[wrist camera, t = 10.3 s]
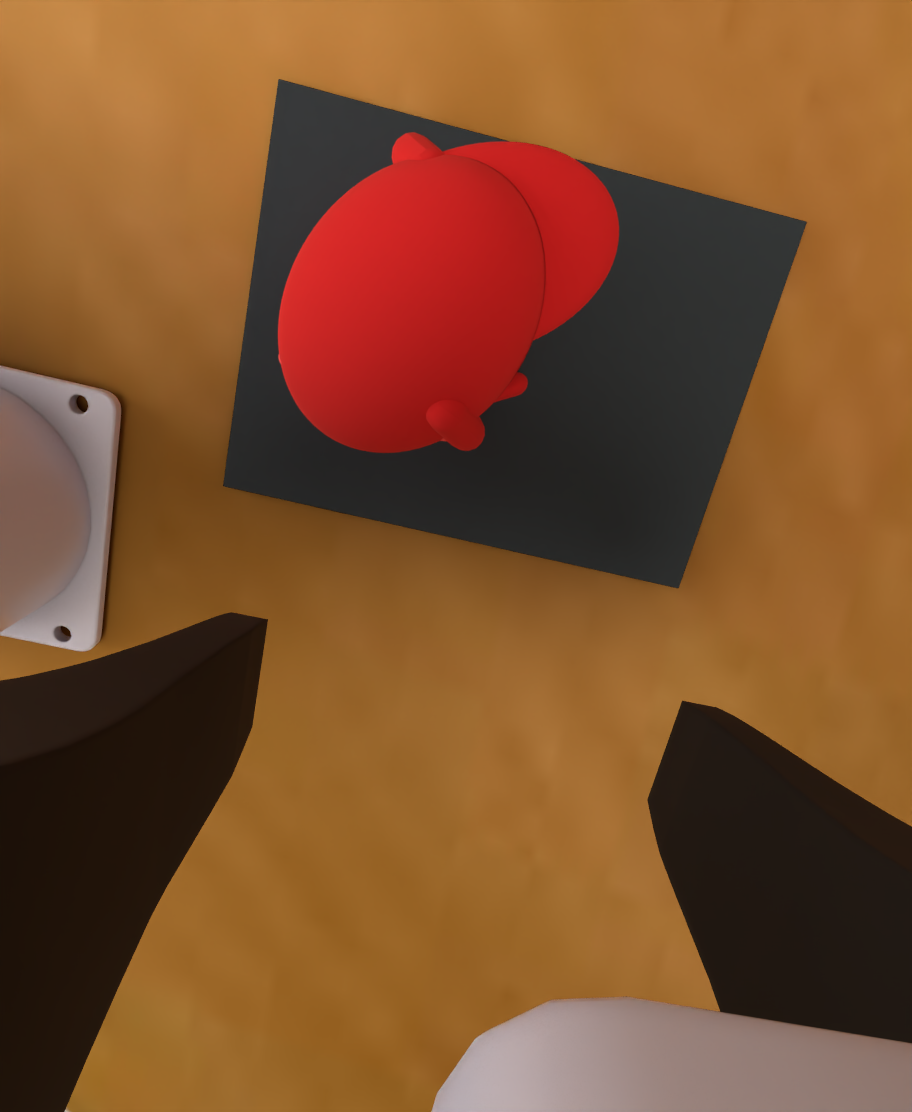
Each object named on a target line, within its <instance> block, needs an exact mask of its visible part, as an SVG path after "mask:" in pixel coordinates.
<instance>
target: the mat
mask: <svg viewBox="0 0 912 1112" xmlns="http://www.w3.org/2000/svg"><path fill="white" fill-rule="evenodd" d="M411 132H415V133H417V134H420V135H423V136H425V137H426V138H427V139H429V140H430V141H431V142H432V143H433V144H435V145H436V146H437V147H438V148H439V149H441V151H442V152H443V151H446V150H449V149H453V148H456V147H460V146H465V145H470V144H476V143H484V142H502V141H503V142H509V141H506V140H502V139H498V138H495V137H491V136H487V135H483V134H480V133H476V132H472V131H469V130H465V129H461V128H458V127H454V126H450V125H446V124H443V123H439V122H435V121H432V120H428V119H424V118H421V117H417V116H413V115H410V114H406V113H402V112H398V111H395V110H391V109H387V108H384V107H380V106H376V105H373V104H369V103H365V102H361V101H358V100H354V99H350V98H347V97H343V96H339V95H336V94H332V93H328V92H325V91H321V90H317V89H313V88H310V87H306V86H302V85H299V84H295V83H291V82H288V81H284V80H280V79H279V80H278V88H277V95H276V102H275V110H274V117H273V124H272V132H271V139H270V146H269V154H268V161H267V168H266V176H265V183H264V190H263V198H262V205H261V212H260V220H259V227H258V234H257V242H256V249H255V256H254V264H253V271H252V278H251V286H250V293H249V300H248V308H247V315H246V322H245V330H244V337H243V344H242V352H241V359H240V366H239V374H238V381H237V388H236V396H235V403H234V410H233V418H232V425H231V432H230V440H229V447H228V454H227V462H226V469H225V476H224V484H223V486H225V487H230V488H234V489H238V490H243V491H247V492H252V493H256V494H261V495H265V496H270V497H274V498H279V499H283V500H287V501H292V502H296V503H301V504H305V505H310V506H314V507H319V508H323V509H328V510H332V511H336V512H341V513H345V514H350V515H354V516H359V517H363V518H368V519H372V520H377V521H381V522H385V523H390V524H394V525H399V526H403V527H408V528H412V529H417V530H421V531H425V532H430V533H434V534H439V535H443V536H448V537H452V538H457V539H461V540H466V541H470V542H474V543H479V544H483V545H488V546H492V547H497V548H501V549H506V550H510V551H515V552H519V553H523V554H528V555H532V556H537V557H541V558H546V559H550V560H555V561H559V562H563V563H568V564H572V565H577V566H581V567H586V568H590V569H595V570H599V571H604V572H608V573H612V574H617V575H621V576H626V577H630V578H635V579H639V580H644V581H648V582H653V583H657V584H661V585H666V586H670V587H675V588H679V585H680V582H681V579H682V577H683V574H684V571H685V568H686V565H687V562H688V559H689V557H690V554H691V551H692V548H693V545H694V542H695V539H696V537H697V534H698V531H699V528H700V525H701V522H702V520H703V517H704V514H705V511H706V508H707V505H708V502H709V500H710V497H711V494H712V491H713V488H714V485H715V482H716V480H717V477H718V474H719V471H720V468H721V465H722V463H723V460H724V457H725V454H726V451H727V448H728V445H729V443H730V440H731V437H732V434H733V431H734V428H735V425H736V423H737V420H738V417H739V414H740V411H741V408H742V405H743V403H744V400H745V397H746V394H747V391H748V388H749V386H750V383H751V380H752V377H753V374H754V371H755V368H756V366H757V363H758V360H759V357H760V354H761V351H762V348H763V346H764V343H765V340H766V337H767V334H768V331H769V329H770V326H771V323H772V320H773V317H774V314H775V311H776V309H777V306H778V303H779V300H780V297H781V294H782V291H783V289H784V286H785V283H786V280H787V277H788V274H789V272H790V269H791V266H792V263H793V260H794V257H795V254H796V252H797V249H798V246H799V243H800V240H801V237H802V234H803V232H804V229H805V226H806V223H807V222H805V221H801V220H798V219H794V218H790V217H787V216H783V215H779V214H775V213H772V212H768V211H764V210H761V209H757V208H753V207H750V206H746V205H742V204H739V203H735V202H731V201H727V200H724V199H720V198H716V197H713V196H709V195H705V194H702V193H698V192H694V191H690V190H687V189H683V188H679V187H676V186H672V185H668V184H665V183H661V182H657V181H654V180H650V179H646V178H642V177H639V176H635V175H631V174H628V173H624V172H620V171H617V170H613V169H609V168H605V167H602V166H598V165H594V164H591V163H587V162H583V161H580V160H577V161H578V162H580V163H581V164H583V165H584V166H586V167H587V168H588V169H589V170H590V171H592V172H593V173H594V174H595V175H596V176H597V177H598V178H599V180H600V181H601V182H602V183H603V185H604V186H605V187H606V189H607V190H608V192H609V194H610V196H611V198H612V200H613V202H614V205H615V208H616V211H617V216H618V221H619V241H618V247H617V252H616V256H615V259H614V262H613V264H612V267H611V269H610V271H609V273H608V275H607V277H606V279H605V280H604V282H603V283H602V285H601V287H600V288H599V289H598V291H597V292H596V293H595V295H594V296H593V297H592V298H591V299H590V300H589V302H588V303H587V304H586V305H585V306H584V307H583V308H582V309H581V310H579V311H578V312H577V313H576V314H575V315H574V316H573V317H571V318H570V319H569V320H567V321H566V322H565V323H563V324H562V325H560V326H559V327H557V328H556V329H554V330H552V331H551V332H549V333H547V334H545V335H543V336H542V337H540V338H538V339H535V340H533V342H532V344H531V346H530V349H529V351H528V353H527V355H526V357H525V359H524V361H523V363H522V365H521V366H520V368H519V370H518V372H519V373H522V374H524V375H525V376H526V377H527V380H528V385H527V388H526V390H525V391H524V392H523V393H522V394H520V395H518V396H515V397H511V398H507V399H504V400H501V401H498V402H494V403H493V404H492V405H491V406H490V407H489V408H488V409H487V410H486V411H485V412H484V413H482V414H481V415H480V416H479V417H480V418H481V420H482V423H483V425H484V427H485V436H484V439H483V441H482V443H481V444H480V445H479V446H478V447H477V448H475V449H473V450H470V451H463V450H459V449H457V448H455V447H454V446H452V445H451V444H449V443H448V442H447V441H438V442H436V443H433V444H431V445H428V446H425V447H422V448H418V449H414V450H410V451H403V452H395V453H376V452H367V451H362V450H358V449H354V448H351V447H348V446H346V445H343V444H341V443H339V442H337V441H335V440H333V439H331V438H330V437H328V436H326V435H325V434H324V433H322V432H321V431H320V430H318V429H317V428H316V427H315V426H314V425H313V424H312V423H311V422H310V421H309V420H308V419H307V418H306V417H305V415H304V414H303V413H302V412H301V410H300V409H299V407H298V406H297V404H296V403H295V401H294V399H293V397H292V395H291V393H290V391H289V389H288V386H287V384H286V381H285V378H284V375H283V371H282V367H281V364H280V362H279V358H278V355H279V347H278V321H279V313H280V306H281V301H282V297H283V292H284V289H285V285H286V282H287V279H288V276H289V273H290V271H291V268H292V266H293V264H294V261H295V259H296V257H297V255H298V253H299V251H300V249H301V247H302V246H303V244H304V242H305V241H306V239H307V237H308V236H309V234H310V233H311V231H312V230H313V228H314V227H315V225H316V224H317V223H318V222H319V220H320V219H321V218H322V216H323V215H324V214H325V213H326V212H327V211H328V210H329V209H330V207H331V206H332V205H333V204H334V203H335V202H336V201H337V200H338V199H339V198H341V197H342V196H343V195H344V194H345V193H346V192H348V191H349V190H350V189H351V188H352V187H354V186H355V185H357V184H358V183H359V182H361V181H362V180H364V179H365V178H367V177H369V176H370V175H372V174H373V173H375V172H377V171H379V170H381V169H383V168H385V167H388V166H390V165H392V164H393V161H392V149H393V146H394V144H395V142H396V141H397V139H398V138H400V137H401V136H403V135H404V134H405V133H411ZM575 160H576V159H575Z"/></svg>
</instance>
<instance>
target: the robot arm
mask: <svg viewBox="0 0 912 1112" xmlns="http://www.w3.org/2000/svg"><path fill="white" fill-rule="evenodd" d="M79 395H81V396H83V397H85V399H86V400H87V401H88V409H87V411H86V412H83V411H81V410H80V409H79V408H78V406H77V402H76V400H77V398H78V396H79ZM120 421H121V404H120V402H119V401H118V399H117V397H116V396H115V395H114V394H113V393H111V392H109V391H107V390H104V389H100V388H96V387H91V386H87V385H83V384H78V383H74V382H70V381H65V380H61V379H57V378H52V377H48V376H44V375H40V374H35V373H31V372H27V371H22V370H18V369H14V368H9V367H5V366H1V365H0V635H1V636H6V637H11V638H16V639H21V640H26V641H31V642H36V643H40V644H45V645H50V646H55V647H60V648H65V649H70V650H75V651H88V650H91V649H92V648H93V647H94V646H96V645H97V644H98V643H99V642H100V639H101V635H102V624H103V613H104V601H105V590H106V579H107V568H108V556H109V545H110V534H111V523H112V511H113V500H114V489H115V478H116V466H117V455H118V444H119V433H120ZM267 622H268V619H263V618H258V617H252V616H247V615H242V614H237V613H232V612H231V613H226V614H223V615H219V616H216V617H214V618H211V619H208V620H205V621H203V622H200V623H198V624H195V625H192V626H190V627H187V628H185V629H182V630H179V631H177V632H174V633H171V634H169V635H166V636H164V637H161V638H158V639H156V640H153V641H150V642H147V643H144V644H141V645H138V646H135V647H132V648H129V649H126V650H123V651H120V652H117V653H114V654H111V655H108V656H105V657H102V658H98V659H95V660H92V661H88V662H85V663H81V664H77V665H73V666H69V667H65V668H61V669H57V670H52V671H48V672H43V673H39V674H35V675H30V676H25V677H20V678H15V679H9V680H2V681H0V1112H64V1111H65V1109H66V1106H67V1104H68V1102H69V1099H70V1097H71V1095H72V1092H73V1090H74V1088H75V1085H76V1083H77V1081H78V1078H79V1076H80V1074H81V1071H82V1069H83V1066H84V1064H85V1062H86V1059H87V1057H88V1055H89V1053H90V1050H91V1048H92V1046H93V1044H94V1041H95V1039H96V1037H97V1035H98V1032H99V1030H100V1028H101V1025H102V1023H103V1021H104V1019H105V1016H106V1014H107V1012H108V1010H109V1007H110V1005H111V1003H112V1001H113V998H114V996H115V994H116V992H117V989H118V987H119V985H120V982H121V980H122V978H123V976H124V974H125V972H126V969H127V967H128V965H129V963H130V961H131V959H132V956H133V954H134V952H135V950H136V948H137V945H138V943H139V941H140V939H141V937H142V935H143V932H144V930H145V928H146V926H147V924H148V922H149V919H150V917H151V915H152V913H153V912H154V910H155V908H156V906H157V904H158V902H159V900H160V898H161V897H162V895H163V893H164V891H165V889H166V887H167V886H168V884H169V882H170V881H171V879H172V877H173V875H174V874H175V872H176V870H177V869H178V867H179V865H180V864H181V862H182V860H183V858H184V857H185V855H186V853H187V852H188V850H189V848H190V847H191V845H192V843H193V842H194V840H195V838H196V836H197V835H198V833H199V831H200V830H201V828H202V826H203V825H204V823H205V821H206V820H207V818H208V816H209V814H210V813H211V811H212V809H213V808H214V806H215V804H216V802H217V801H218V799H219V797H220V795H221V794H222V792H223V790H224V789H225V787H226V785H227V783H228V782H229V780H230V778H231V776H232V774H233V772H234V769H235V767H236V765H237V762H238V760H239V758H240V755H241V753H242V751H243V748H244V746H245V743H246V741H247V738H248V736H249V733H250V731H251V728H252V725H253V718H254V711H255V704H256V697H257V690H258V684H259V677H260V670H261V663H262V656H263V649H264V643H265V636H266V629H267ZM61 626H64V627H66V628H68V629H69V630H70V632H71V636H70V637H69V636H67V635H64V633H63V632H62V631H61ZM648 805H649V809H650V814H651V819H652V824H653V828H654V832H655V836H656V840H657V844H658V848H659V852H660V855H661V858H662V861H663V863H664V866H665V869H666V871H667V874H668V876H669V879H670V882H671V884H672V887H673V889H674V892H675V895H676V897H677V900H678V902H679V905H680V907H681V910H682V912H683V915H684V917H685V920H686V922H687V925H688V927H689V930H690V932H691V935H692V937H693V940H694V942H695V945H696V947H697V950H698V953H699V955H700V958H701V960H702V963H703V965H704V968H705V970H706V973H707V975H708V978H709V980H710V983H711V986H712V989H713V992H714V995H715V997H716V1000H717V1003H718V1006H719V1009H720V1012H717V1011H711V1010H705V1009H699V1008H693V1007H687V1006H681V1005H675V1004H669V1003H663V1002H657V1001H650V1000H644V999H638V998H632V997H605V998H581V999H557V1000H549V1001H547V1002H545V1003H543V1004H541V1005H539V1006H537V1007H535V1008H533V1009H531V1010H529V1011H527V1012H525V1013H523V1014H520V1015H518V1016H516V1017H514V1018H512V1019H510V1020H508V1021H506V1022H504V1023H502V1024H500V1025H498V1026H496V1027H494V1028H492V1029H489V1030H487V1031H486V1032H484V1033H483V1034H481V1035H480V1036H478V1037H477V1038H475V1040H474V1041H473V1043H472V1044H471V1046H470V1047H469V1048H468V1050H467V1051H466V1053H465V1054H464V1056H463V1057H462V1058H461V1060H460V1061H459V1063H458V1064H457V1066H456V1067H455V1068H454V1070H453V1071H452V1073H451V1074H450V1076H449V1077H448V1078H447V1080H446V1081H445V1083H444V1084H443V1086H442V1087H441V1088H440V1090H439V1091H438V1093H437V1095H436V1099H435V1102H434V1106H433V1109H432V1112H912V827H911V826H909V825H908V824H906V823H904V822H902V821H901V820H899V819H897V818H895V817H894V816H892V815H890V814H888V813H887V812H885V811H883V810H882V809H880V808H878V807H877V806H875V805H873V804H872V803H870V802H868V801H867V800H865V799H863V798H862V797H860V796H859V795H857V794H855V793H854V792H852V791H850V790H849V789H847V788H845V787H844V786H842V785H841V784H839V783H838V782H836V781H834V780H833V779H831V778H830V777H828V776H827V775H825V774H824V773H822V772H820V771H819V770H817V769H816V768H814V767H813V766H811V765H810V764H808V763H807V762H805V761H804V760H802V759H801V758H799V757H798V756H796V755H795V754H793V753H792V752H790V751H788V750H787V749H785V748H784V747H782V746H781V745H779V744H778V743H776V742H775V741H773V740H772V739H770V738H769V737H767V736H766V735H764V734H763V733H761V732H759V731H758V730H756V729H755V728H753V727H751V726H750V725H748V724H747V723H745V722H743V721H742V720H740V719H738V718H736V717H735V716H733V715H731V714H729V713H727V712H725V711H723V710H721V709H719V708H716V707H711V706H706V705H701V704H696V703H691V702H686V701H682V703H681V706H680V709H679V712H678V715H677V717H676V720H675V723H674V726H673V729H672V732H671V734H670V737H669V740H668V743H667V746H666V749H665V751H664V754H663V757H662V760H661V763H660V766H659V769H658V771H657V774H656V777H655V780H654V783H653V786H652V788H651V791H650V794H649V797H648Z"/></svg>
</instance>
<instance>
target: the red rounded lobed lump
mask: <svg viewBox="0 0 912 1112" xmlns="http://www.w3.org/2000/svg"><path fill="white" fill-rule="evenodd" d="M392 161H393V164H392V165H390V166H388V167H385V168H383V169H381V170H379V171H377V172H375V173H373V174H372V175H370V176H369V177H367V178H365V179H364V180H362V181H361V182H359V183H358V184H357V185H355V186H354V187H352V188H351V189H350V190H349V191H348V192H346V193H345V194H344V195H343V196H342V197H341V198H339V199H338V200H337V201H336V202H335V203H334V204H333V205H332V206H331V207H330V209H329V210H328V211H327V212H326V213H325V214H324V215H323V216H322V218H321V219H320V220H319V222H318V223H317V224H316V225H315V227H314V228H313V230H312V231H311V233H310V234H309V236H308V237H307V239H306V241H305V242H304V244H303V246H302V247H301V249H300V251H299V253H298V255H297V257H296V259H295V261H294V264H293V266H292V268H291V271H290V273H289V276H288V279H287V282H286V285H285V289H284V292H283V297H282V301H281V306H280V313H279V321H278V347H279V355H278V358H279V362H280V364H281V367H282V371H283V375H284V378H285V381H286V384H287V386H288V389H289V391H290V393H291V395H292V397H293V399H294V401H295V403H296V404H297V406H298V407H299V409H300V410H301V412H302V413H303V414H304V415H305V417H306V418H307V419H308V420H309V421H310V422H311V423H312V424H313V425H314V426H315V427H316V428H317V429H318V430H320V431H321V432H322V433H324V434H325V435H326V436H328V437H330V438H331V439H333V440H335V441H337V442H339V443H341V444H343V445H346V446H348V447H351V448H354V449H358V450H362V451H367V452H376V453H395V452H403V451H410V450H414V449H418V448H422V447H425V446H428V445H431V444H433V443H436V442H438V441H447V442H448V443H449V444H451V445H452V446H454V447H455V448H457V449H459V450H463V451H470V450H473V449H475V448H477V447H478V446H479V445H480V444H481V443H482V441H483V439H484V436H485V427H484V425H483V423H482V420H481V418H480V417H479V416H480V415H481V414H482V413H484V412H485V411H486V410H487V409H488V408H489V407H490V406H491V405H492V404H493V403H494V402H498V401H501V400H504V399H507V398H511V397H515V396H518V395H520V394H522V393H523V392H524V391H525V390H526V388H527V385H528V380H527V377H526V376H525V375H524V374H522V373H519V372H518V370H519V368H520V366H521V365H522V363H523V361H524V359H525V357H526V355H527V353H528V351H529V349H530V346H531V344H532V342H533V340H535V339H538V338H540V337H542V336H543V335H545V334H547V333H549V332H551V331H552V330H554V329H556V328H557V327H559V326H560V325H562V324H563V323H565V322H566V321H567V320H569V319H570V318H571V317H573V316H574V315H575V314H576V313H577V312H578V311H579V310H581V309H582V308H583V307H584V306H585V305H586V304H587V303H588V302H589V300H590V299H591V298H592V297H593V296H594V295H595V293H596V292H597V291H598V289H599V288H600V287H601V285H602V283H603V282H604V280H605V279H606V277H607V275H608V273H609V271H610V269H611V267H612V264H613V262H614V259H615V256H616V252H617V247H618V241H619V221H618V216H617V211H616V208H615V205H614V202H613V200H612V198H611V196H610V194H609V192H608V190H607V189H606V187H605V186H604V185H603V183H602V182H601V181H600V180H599V178H598V177H597V176H596V175H595V174H594V173H593V172H592V171H590V170H589V169H588V168H587V167H586V166H584V165H583V164H581V163H580V162H578V161H577V160H575V159H573V158H571V157H570V156H568V155H566V154H563V153H561V152H558V151H556V150H553V149H550V148H547V147H543V146H539V145H534V144H528V143H521V142H503V141H502V142H484V143H476V144H470V145H465V146H460V147H456V148H453V149H449V150H446V151H443V152H442V151H441V149H439V148H438V147H437V146H436V145H435V144H433V143H432V142H431V141H430V140H429V139H427V138H426V137H425V136H423V135H420V134H417V133H415V132H411V133H405V134H404V135H403V136H401V137H400V138H398V139H397V141H396V142H395V144H394V146H393V149H392Z"/></svg>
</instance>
